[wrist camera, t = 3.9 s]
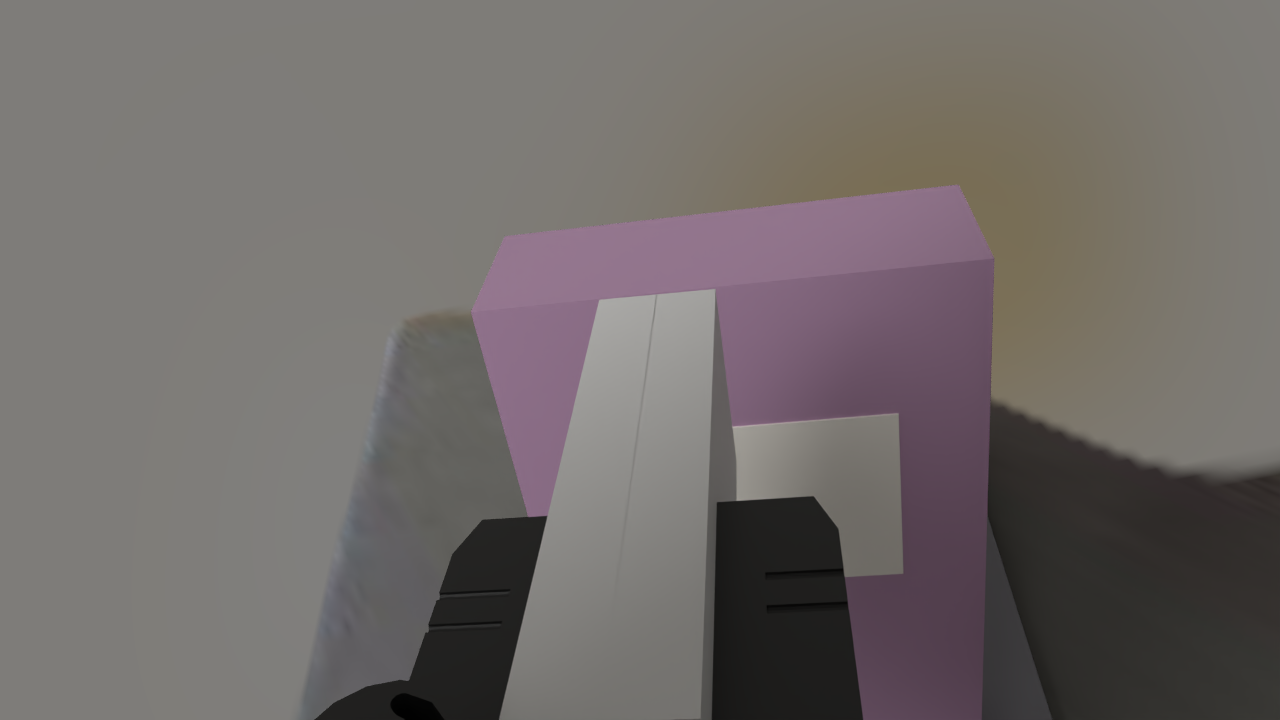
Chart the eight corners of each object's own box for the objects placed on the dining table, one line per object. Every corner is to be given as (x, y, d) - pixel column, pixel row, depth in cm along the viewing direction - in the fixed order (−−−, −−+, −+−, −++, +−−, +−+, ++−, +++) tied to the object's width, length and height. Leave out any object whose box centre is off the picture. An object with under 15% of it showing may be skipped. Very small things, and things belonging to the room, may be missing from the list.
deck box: (979, 799, 27) (994, 260, 19) (609, 808, 28) (470, 313, 20) (954, 689, 30) (958, 183, 22) (621, 703, 31) (505, 235, 23)
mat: (627, 394, 47) (625, 383, 47) (936, 366, 45) (936, 355, 45) (505, 1171, 22) (498, 1159, 22) (1194, 1191, 20) (1198, 1178, 20)
